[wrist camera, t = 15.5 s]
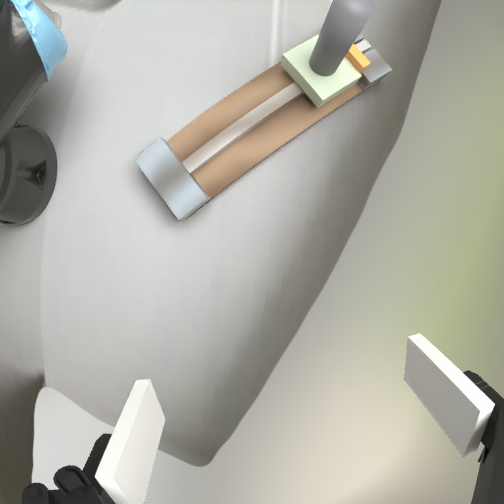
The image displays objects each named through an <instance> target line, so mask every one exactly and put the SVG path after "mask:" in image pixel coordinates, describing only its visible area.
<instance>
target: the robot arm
mask: <svg viewBox="0 0 504 504" xmlns="http://www.w3.org/2000/svg"><path fill="white" fill-rule="evenodd" d="M66 52H67V42H66V39H65V37H64V36H63V34H62V33H61V31H60V30H59V29H58V27H57V26H56V25H55V24H54V23H53V21H52V20H51V19H50V18H49V17H48V16H47V15H46V13H45V12H44V11H43V10H42V9H41V8H40V7H39V6H37V5H35V3H34V2H33V1H32V0H0V222H2V223H4V224H7V225H19V224H25V223H28V222H30V221H32V220H34V219H35V218H36V217H38V216H39V215H40V214H41V212H42V211H43V210H44V209H45V207H46V205H47V204H48V202H49V200H50V198H51V195H52V193H53V190H54V186H55V182H56V175H57V159H56V153H55V149H54V146H53V144H52V142H51V140H50V138H49V137H48V136H47V135H46V133H44V132H43V131H42V130H40V129H38V128H35V127H32V126H28V125H18V126H15V125H16V123H17V122H18V120H19V119H20V117H21V115H22V114H23V112H24V111H25V109H26V108H27V107H28V105H29V104H30V102H31V101H32V99H33V98H34V97H35V95H36V94H37V92H38V91H39V90H40V88H41V87H42V86H43V84H44V83H45V82H48V81H49V79H50V77H51V74H52V73H53V71H54V70H55V69H56V67H57V66H58V65H59V63H60V62H61V61H62V59H63V58H64V57H65V55H66ZM404 380H405V381H406V382H407V384H408V385H409V386H410V388H411V389H412V390H413V392H414V393H415V394H416V395H417V397H418V398H419V399H420V401H421V402H422V403H423V405H424V406H425V407H426V408H427V410H428V411H429V412H430V414H431V415H432V416H433V418H434V419H435V420H436V422H437V423H438V424H439V426H440V427H441V428H442V430H443V431H444V432H445V434H446V435H447V436H448V438H449V439H450V440H451V442H452V443H453V444H454V446H455V447H456V449H457V450H458V451H459V453H460V454H461V455H462V457H465V456H467V455H469V454H470V453H473V452H475V451H476V450H477V448H478V446H479V444H480V442H482V443H483V444H484V445H485V447H484V449H483V451H482V453H481V456H480V458H479V460H478V462H480V461H481V463H480V468H479V473H478V477H477V482H476V486H475V491H474V495H473V498H472V502H471V504H504V399H503V398H502V397H501V396H500V395H499V394H498V393H497V392H496V391H495V390H494V389H493V388H491V386H489V385H488V384H487V383H486V382H485V381H483V379H482V378H481V377H479V375H477V374H475V373H473V372H471V371H469V370H468V371H466V372H463V373H462V372H461V371H460V370H459V369H458V368H457V367H456V366H455V365H454V364H453V363H451V361H450V360H449V359H447V358H446V357H445V356H444V355H443V354H442V353H441V352H440V351H439V350H438V349H437V348H436V347H435V346H433V345H432V344H431V343H430V342H429V341H428V340H427V339H426V338H425V337H424V336H422V335H421V334H420V333H419V334H416V335H412V336H409V337H408V342H407V355H406V364H405V375H404ZM164 423H165V417H164V415H163V412H162V409H161V407H160V404H159V402H158V399H157V396H156V393H155V391H154V388H153V385H152V382H151V380H150V379H144V380H136V382H135V384H134V386H133V389H132V391H131V393H130V395H129V397H128V400H127V402H126V404H125V406H124V409H123V411H122V413H121V415H120V418H119V420H118V422H117V424H116V427H115V429H114V431H113V434H103V435H102V436H101V437H99V439H98V440H96V442H95V444H94V447H93V450H92V451H91V453H90V457H88V460H87V462H86V464H85V466H84V468H83V471H82V470H81V469H80V468H78V467H76V466H70V465H69V466H65V467H62V468H61V469H59V470H58V471H57V472H56V473H55V476H54V478H53V479H54V483H55V485H56V486H57V487H58V488H59V490H48V489H47V487H46V486H45V485H44V484H41V483H32V484H30V485H28V486H27V487H26V488H25V489H24V490H23V494H22V504H144V503H145V498H146V494H147V490H148V485H149V482H150V478H151V474H152V470H153V465H154V461H155V458H156V454H157V450H158V446H159V442H160V438H161V434H162V430H163V426H164Z"/></svg>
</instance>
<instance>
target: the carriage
mask: <svg viewBox="0 0 504 504" xmlns="http://www.w3.org/2000/svg"><path fill="white" fill-rule="evenodd" d="M373 12H374V4H373V2H372V0H333V2H332V4H331V7H330V9H329V12H328V14H327V17H326V19H325V22H324V24H323V27H322V29H321V32H320V34H318V35H316V36H315V37H313V38H311V39H309V40H307V41H305V42H304V43H302V44H300V45H298V46H296V47H295V48H293V49H291V50H289V51H288V52H286V53H284V54H283V56H282V61H281V66H282V67H283V68H284V69H285V70H286V71H287V72H288V74H289V75H290V76H291V77H292V78H293V79H294V80H295V82H296V83H297V84H298V85H299V86H300V87H301V89H302V90H303V91H304V92H305V93H306V94H307V96H308V97H309V98H310V99H311V100H312V102H313V103H314V104H315V105H316V107H317V108H319V107H320V106H322V105H323V104H325V103H326V102H328V101H329V100H331V99H333V98H334V97H336V96H337V95H339V94H340V93H342V92H343V91H345V90H347V89H348V88H350V87H351V86H353V85H355V83H356V82H357V81H358V80H359V79H360V78H361V76H362V75H361V74H360V73H359V72H358V70H357V69H356V68H355V67H354V66H353V65H352V63H351V62H350V61H349V60H348V59H347V58H346V57H345V56H346V54H347V53H348V51H349V49H350V48H351V46H352V45H353V43H354V42H355V40H356V38H357V37H358V35H359V34H360V32H361V31H362V29H363V28H364V26H365V24H366V23H367V21H368V20H369V18H370V17H371V15H372V14H373Z"/></svg>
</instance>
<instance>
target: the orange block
mask: <svg viewBox="0 0 504 504" xmlns="http://www.w3.org/2000/svg"><path fill="white" fill-rule="evenodd" d="M370 48H371V45H370V44H369V43H368V42H367V41H366V40H363V41H361V42H359V43H358V44H356V45H354V44H353V45H352V46H351V48H350V49H349V51H348V53H347V54H346V56H345V57H346V58H347V59H348V60H349V61H350V62H351V63H352V65H353V66H354V67H355V68H356V69H357V70H358V72H359V73H360V74H362V73H363V72H364V71H365V69H366V68H367V67H368V66H369V65H370V64H371V63H370V62H369V61H368V59H367V58H366V57H365V56H364V55H363V53H364V52H366V51H368V50H369V49H370Z"/></svg>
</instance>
